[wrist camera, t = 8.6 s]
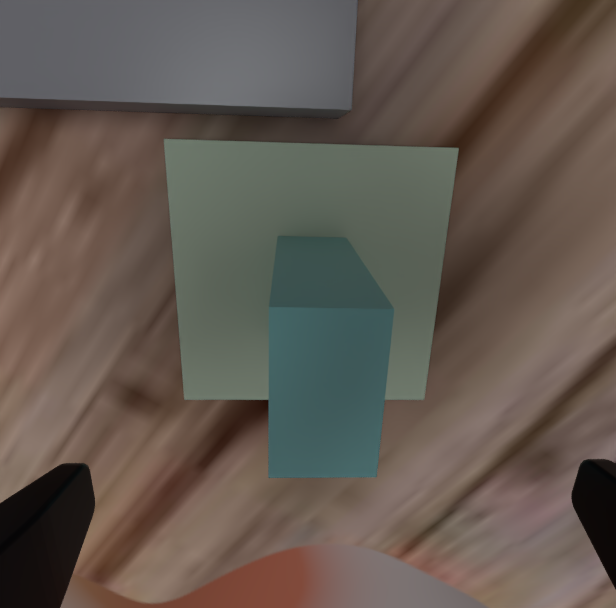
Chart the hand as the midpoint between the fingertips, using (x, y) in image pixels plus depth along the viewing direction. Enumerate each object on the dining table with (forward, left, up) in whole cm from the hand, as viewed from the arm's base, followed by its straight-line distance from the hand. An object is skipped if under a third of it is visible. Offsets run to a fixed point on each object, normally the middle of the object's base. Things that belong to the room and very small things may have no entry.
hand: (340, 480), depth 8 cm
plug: (0, 0, -12) cm, 12 cm away
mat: (0, 0, -13) cm, 13 cm away
